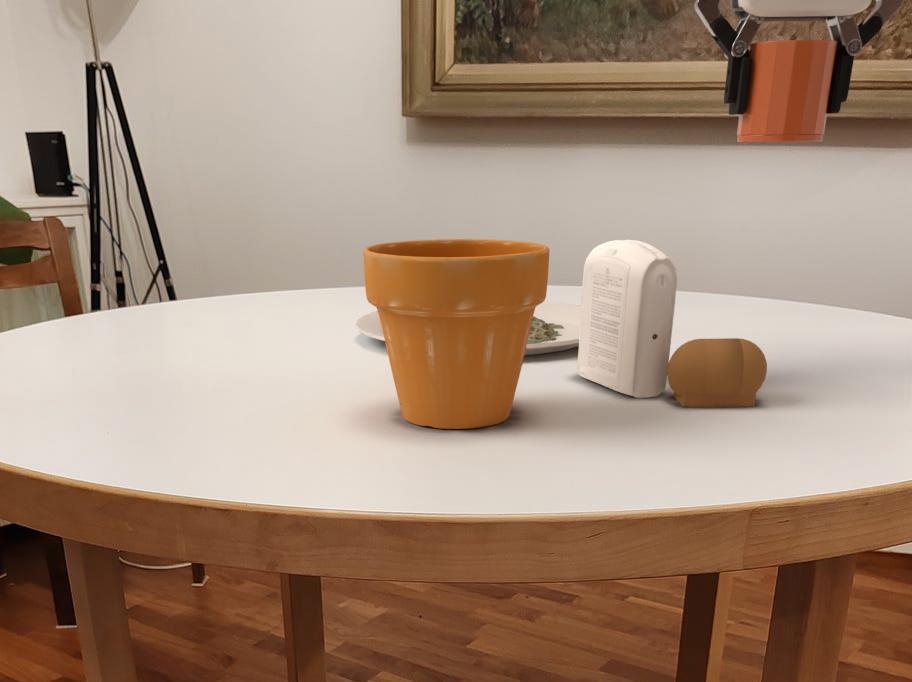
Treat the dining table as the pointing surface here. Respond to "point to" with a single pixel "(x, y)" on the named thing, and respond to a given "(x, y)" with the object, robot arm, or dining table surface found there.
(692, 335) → the dining table surface
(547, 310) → the plated food
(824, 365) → the dining table surface
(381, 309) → the flower pot
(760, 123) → the pot
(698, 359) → the bread loaf
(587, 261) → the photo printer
